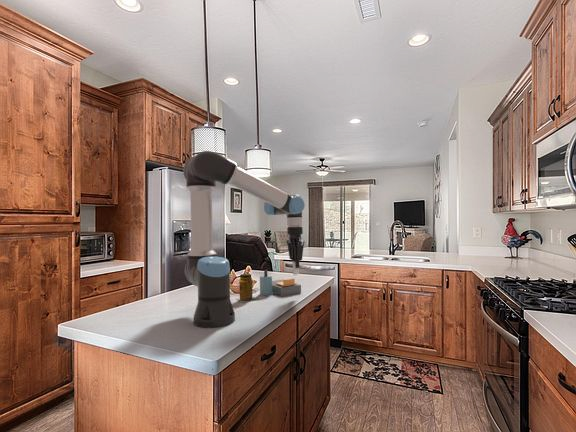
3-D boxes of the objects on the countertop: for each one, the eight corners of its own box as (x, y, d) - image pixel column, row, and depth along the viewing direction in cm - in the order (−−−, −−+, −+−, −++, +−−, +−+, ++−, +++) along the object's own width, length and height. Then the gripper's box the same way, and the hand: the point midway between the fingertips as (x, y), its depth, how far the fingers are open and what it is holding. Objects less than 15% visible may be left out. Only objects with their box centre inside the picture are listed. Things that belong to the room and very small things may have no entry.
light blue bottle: (272, 294, 158) (271, 270, 158) (264, 295, 155) (263, 271, 155) (267, 292, 161) (267, 269, 161) (260, 294, 159) (259, 270, 159)
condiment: (236, 299, 149) (235, 274, 149) (251, 296, 154) (251, 272, 154) (243, 302, 143) (243, 276, 143) (259, 299, 148) (259, 274, 148)
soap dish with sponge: (301, 292, 160) (300, 284, 160) (281, 296, 154) (280, 288, 154) (282, 286, 175) (282, 279, 175) (263, 289, 169) (263, 282, 169)
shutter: (296, 284, 160) (296, 278, 160) (283, 286, 156) (282, 280, 156) (288, 282, 166) (288, 276, 166) (275, 283, 162) (275, 277, 162)
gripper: (308, 226, 150) (310, 275, 150) (293, 226, 161) (295, 271, 161) (295, 226, 146) (297, 277, 146) (281, 226, 157) (282, 273, 157)
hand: (296, 274), depth 154 cm, fingers closed
